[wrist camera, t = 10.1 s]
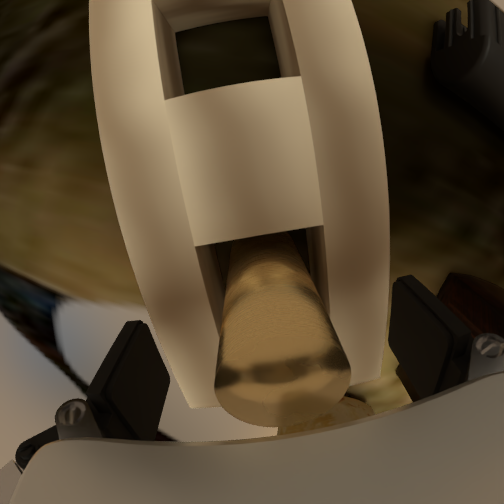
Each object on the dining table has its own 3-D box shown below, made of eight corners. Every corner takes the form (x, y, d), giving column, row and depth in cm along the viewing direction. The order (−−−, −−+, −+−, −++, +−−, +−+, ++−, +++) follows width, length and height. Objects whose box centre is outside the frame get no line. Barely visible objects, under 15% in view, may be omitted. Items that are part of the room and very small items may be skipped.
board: (302, -37, 11) (317, -79, 6) (356, 333, 20) (379, 378, 16) (122, -4, 12) (91, -37, 7) (199, 359, 21) (190, 408, 16)
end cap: (418, 92, 14) (486, 78, 8) (428, 16, 12) (483, -13, 6) (504, 151, 15) (564, 163, 9) (511, 81, 13) (566, 79, 7)
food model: (380, 380, 22) (459, 571, 4) (355, 424, 25) (403, 588, 6) (275, 380, 22) (301, 627, 3) (262, 426, 24) (273, 618, 5)
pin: (291, 217, 17) (353, 321, 7) (299, 277, 19) (347, 414, 8) (225, 228, 17) (197, 347, 7) (237, 288, 19) (230, 432, 8)
